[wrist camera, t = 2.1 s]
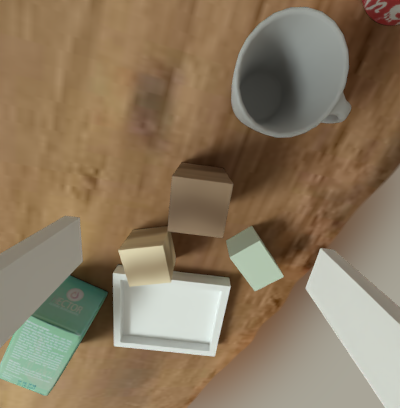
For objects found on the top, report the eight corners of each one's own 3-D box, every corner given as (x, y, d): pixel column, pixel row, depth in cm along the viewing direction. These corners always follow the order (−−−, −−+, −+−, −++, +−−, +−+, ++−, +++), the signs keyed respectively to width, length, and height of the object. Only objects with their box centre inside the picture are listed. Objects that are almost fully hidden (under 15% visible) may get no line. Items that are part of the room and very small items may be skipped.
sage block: (225, 240, 27) (229, 257, 24) (251, 225, 26) (259, 240, 23) (248, 270, 29) (254, 291, 25) (273, 257, 28) (283, 276, 24)
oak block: (132, 229, 27) (118, 250, 22) (169, 225, 27) (162, 245, 22) (141, 261, 28) (129, 286, 24) (176, 257, 28) (170, 282, 24)
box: (110, 290, 30) (82, 337, 23) (80, 343, 34) (47, 398, 27) (63, 268, 29) (18, 311, 22) (37, 326, 33) (-8, 379, 26)
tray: (118, 264, 29) (112, 272, 27) (229, 277, 29) (230, 286, 27) (118, 335, 33) (113, 346, 32) (214, 345, 34) (214, 356, 32)
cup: (240, 42, 20) (266, -20, 12) (327, 84, 21) (406, 53, 13) (211, 120, 22) (216, 113, 14) (291, 154, 23) (338, 165, 15)
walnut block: (181, 162, 24) (172, 176, 16) (223, 168, 24) (233, 184, 16) (177, 202, 25) (167, 231, 18) (216, 207, 26) (222, 238, 18)
